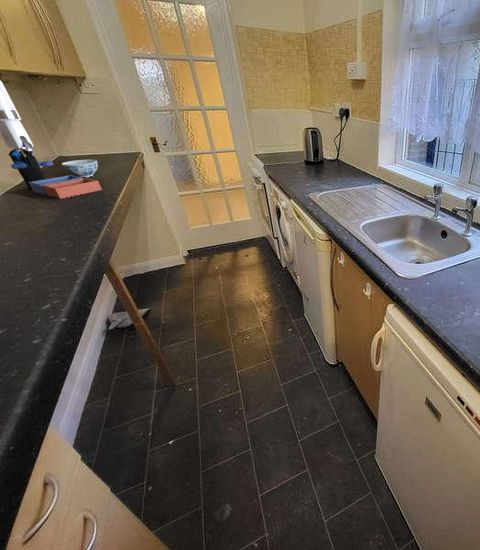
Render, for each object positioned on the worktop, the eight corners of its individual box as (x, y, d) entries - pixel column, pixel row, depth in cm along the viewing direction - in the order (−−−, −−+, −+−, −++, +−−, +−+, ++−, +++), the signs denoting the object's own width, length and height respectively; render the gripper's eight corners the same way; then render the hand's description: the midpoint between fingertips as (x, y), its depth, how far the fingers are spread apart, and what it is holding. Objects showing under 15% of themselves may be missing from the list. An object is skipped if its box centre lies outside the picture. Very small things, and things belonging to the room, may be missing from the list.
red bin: (60, 199, 132) (55, 188, 129) (48, 195, 136) (42, 185, 133) (102, 190, 145) (97, 180, 142) (89, 187, 148) (85, 178, 146)
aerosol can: (28, 187, 147) (3, 143, 137) (50, 184, 152) (27, 142, 141) (28, 190, 142) (1, 145, 132) (51, 187, 147) (27, 144, 136)
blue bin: (45, 195, 136) (39, 185, 134) (33, 192, 140) (28, 182, 138) (87, 186, 149) (82, 177, 147) (75, 184, 153) (70, 175, 151)
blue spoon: (15, 170, 115) (12, 164, 114) (10, 169, 116) (7, 163, 115) (55, 164, 124) (52, 159, 123) (50, 163, 126) (48, 158, 125)
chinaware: (70, 175, 168) (63, 161, 164) (103, 172, 176) (97, 158, 172) (67, 181, 158) (59, 166, 154) (102, 177, 166) (96, 162, 162)
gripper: (-19, 115, 110) (11, 166, 120) (0, 117, 105) (30, 170, 114) (9, 114, 116) (35, 163, 126) (28, 116, 110) (54, 167, 120)
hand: (32, 166), depth 120 cm, fingers closed on blue spoon, 2 cm apart
